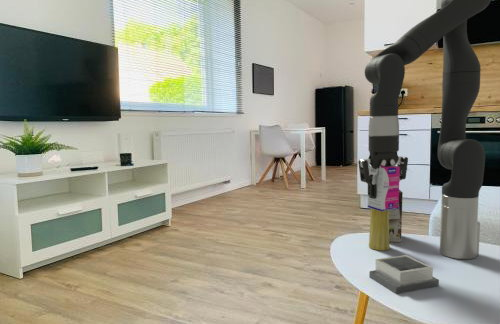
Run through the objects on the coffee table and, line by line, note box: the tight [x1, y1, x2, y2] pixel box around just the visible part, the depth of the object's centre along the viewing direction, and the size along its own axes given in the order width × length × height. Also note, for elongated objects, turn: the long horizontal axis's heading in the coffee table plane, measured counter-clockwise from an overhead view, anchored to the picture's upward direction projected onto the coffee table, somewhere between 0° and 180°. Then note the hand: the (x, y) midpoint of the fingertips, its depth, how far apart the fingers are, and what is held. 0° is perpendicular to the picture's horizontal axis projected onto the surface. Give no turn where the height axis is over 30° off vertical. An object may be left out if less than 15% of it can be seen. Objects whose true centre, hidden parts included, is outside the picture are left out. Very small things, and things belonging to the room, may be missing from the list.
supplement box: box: [367, 165, 400, 211], centre depth 103 cm, size 6×6×12 cm
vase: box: [368, 208, 391, 251], centre depth 118 cm, size 6×6×14 cm
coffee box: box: [389, 189, 404, 243], centre depth 127 cm, size 9×6×16 cm
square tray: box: [368, 254, 440, 295], centre depth 94 cm, size 12×10×4 cm
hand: (383, 196), depth 103 cm, fingers closed on supplement box, 6 cm apart
